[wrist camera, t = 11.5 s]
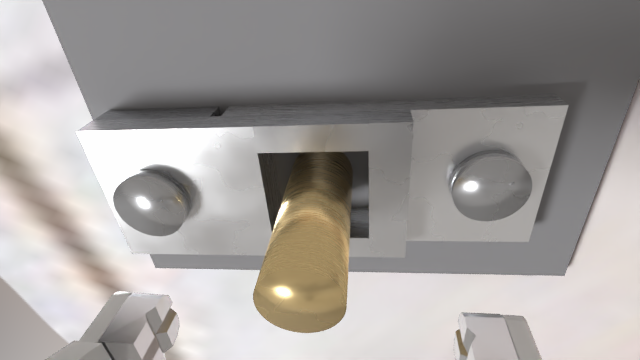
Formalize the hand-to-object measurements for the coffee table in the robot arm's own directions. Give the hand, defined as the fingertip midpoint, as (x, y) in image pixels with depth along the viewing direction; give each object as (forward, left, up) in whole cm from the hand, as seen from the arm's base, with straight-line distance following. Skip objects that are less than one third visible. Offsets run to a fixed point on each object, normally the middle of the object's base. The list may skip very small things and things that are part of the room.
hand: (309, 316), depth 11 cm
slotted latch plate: (+1, +1, -10) cm, 10 cm away
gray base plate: (0, -1, -10) cm, 10 cm away
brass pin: (+1, +1, -9) cm, 9 cm away
